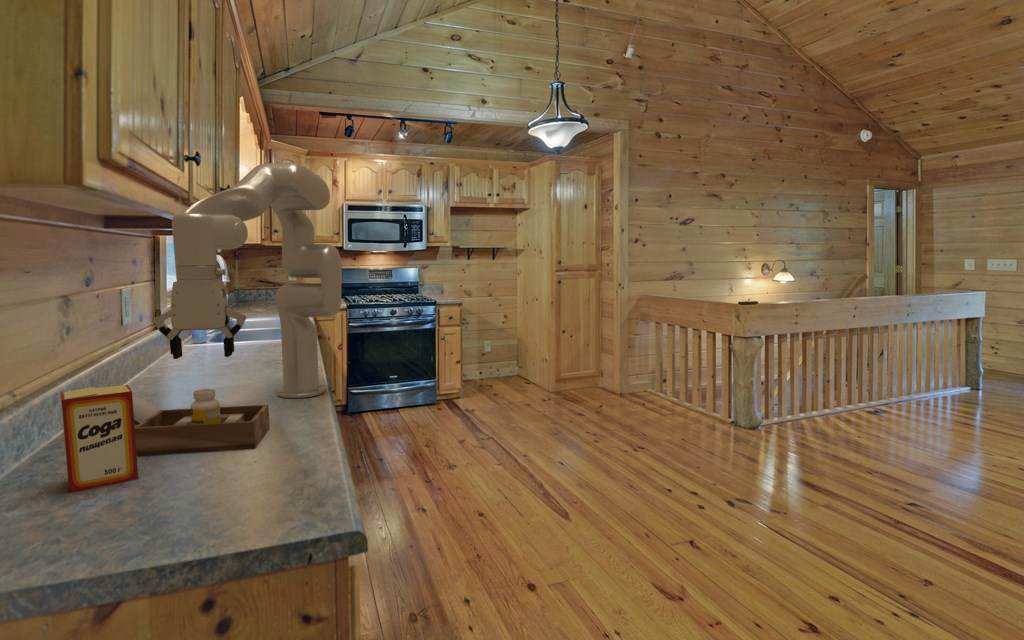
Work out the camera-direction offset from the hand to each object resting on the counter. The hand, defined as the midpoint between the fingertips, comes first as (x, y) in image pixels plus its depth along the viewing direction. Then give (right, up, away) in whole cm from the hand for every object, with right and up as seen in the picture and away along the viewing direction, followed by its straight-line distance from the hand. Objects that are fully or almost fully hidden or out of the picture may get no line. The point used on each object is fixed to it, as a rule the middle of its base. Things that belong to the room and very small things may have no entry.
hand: (203, 356), depth 117 cm
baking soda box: (-7, -20, -19) cm, 29 cm away
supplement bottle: (0, -17, +1) cm, 17 cm away
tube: (-24, -17, +17) cm, 33 cm away
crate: (0, -18, +1) cm, 18 cm away
